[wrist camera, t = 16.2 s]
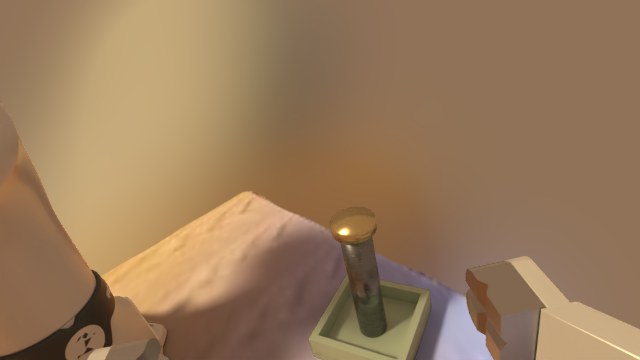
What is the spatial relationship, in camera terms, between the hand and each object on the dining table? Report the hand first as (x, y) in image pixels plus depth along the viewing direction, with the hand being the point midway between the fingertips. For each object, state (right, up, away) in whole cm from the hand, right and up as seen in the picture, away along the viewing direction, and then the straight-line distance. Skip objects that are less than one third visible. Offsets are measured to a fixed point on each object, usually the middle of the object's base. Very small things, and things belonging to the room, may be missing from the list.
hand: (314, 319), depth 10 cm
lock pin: (+6, -13, +34) cm, 37 cm away
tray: (+6, -14, +35) cm, 38 cm away
